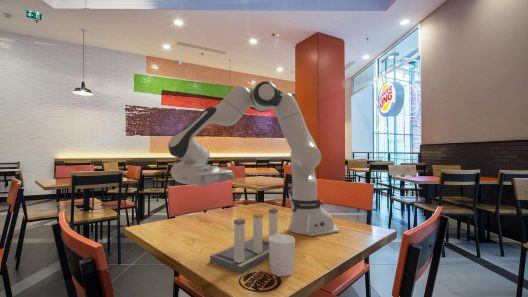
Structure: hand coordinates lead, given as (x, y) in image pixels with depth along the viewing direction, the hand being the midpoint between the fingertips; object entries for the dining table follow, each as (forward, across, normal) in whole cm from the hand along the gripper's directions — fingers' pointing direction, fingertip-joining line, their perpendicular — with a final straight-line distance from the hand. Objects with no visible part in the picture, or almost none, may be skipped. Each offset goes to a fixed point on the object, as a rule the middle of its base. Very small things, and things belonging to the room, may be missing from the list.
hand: (224, 178), depth 97 cm
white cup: (+28, -3, +25) cm, 38 cm away
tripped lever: (+17, -1, +23) cm, 28 cm away
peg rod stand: (+13, -1, +26) cm, 28 cm away
